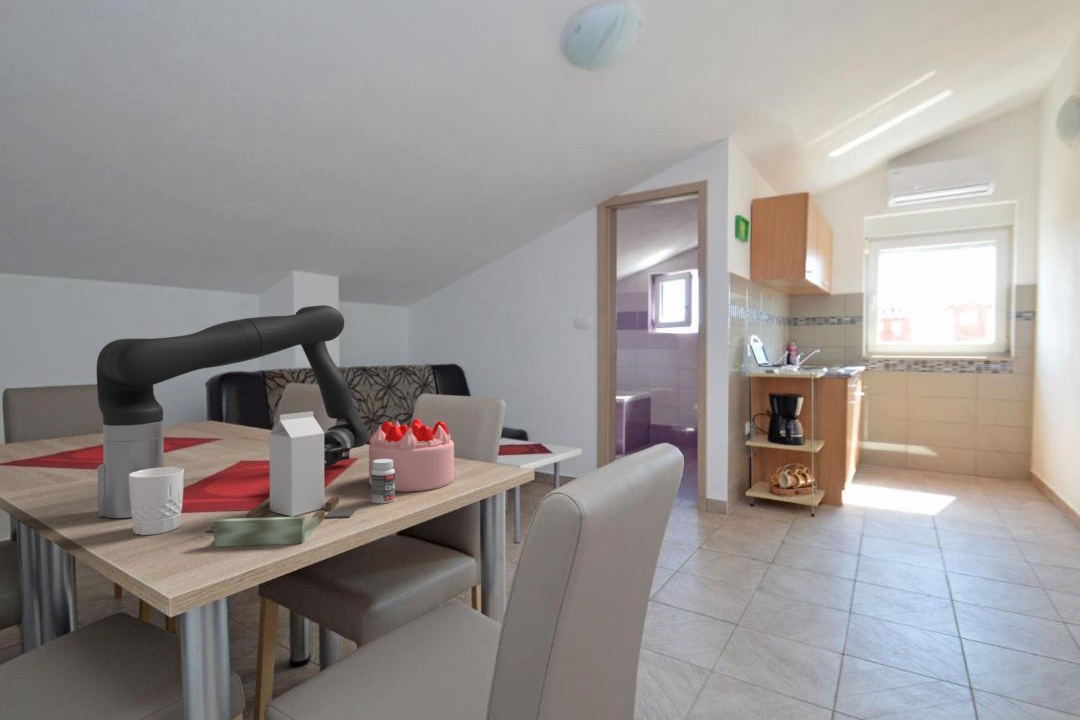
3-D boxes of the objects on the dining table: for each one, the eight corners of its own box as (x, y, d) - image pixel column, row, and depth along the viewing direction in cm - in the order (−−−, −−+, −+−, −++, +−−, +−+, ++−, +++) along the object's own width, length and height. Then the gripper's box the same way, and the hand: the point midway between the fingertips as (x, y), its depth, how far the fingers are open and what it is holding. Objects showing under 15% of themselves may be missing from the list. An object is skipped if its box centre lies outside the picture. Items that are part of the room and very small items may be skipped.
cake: (392, 498, 115) (392, 431, 115) (354, 480, 130) (354, 421, 130) (469, 483, 128) (469, 423, 127) (427, 469, 143) (427, 415, 142)
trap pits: (204, 535, 91) (204, 533, 91) (209, 524, 97) (209, 522, 97) (358, 516, 102) (358, 514, 102) (354, 507, 107) (354, 506, 107)
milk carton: (324, 508, 107) (324, 412, 106) (291, 517, 101) (291, 416, 100) (302, 502, 110) (302, 410, 110) (269, 511, 105) (268, 413, 104)
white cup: (152, 521, 98) (151, 466, 98) (194, 522, 98) (194, 467, 98) (117, 536, 90) (116, 476, 90) (163, 537, 90) (162, 477, 90)
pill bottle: (388, 504, 110) (388, 463, 109) (366, 503, 111) (366, 462, 110) (399, 498, 114) (399, 458, 114) (378, 497, 115) (378, 457, 115)
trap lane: (214, 546, 86) (214, 521, 86) (270, 504, 109) (269, 484, 109) (302, 543, 88) (302, 518, 87) (338, 502, 111) (338, 483, 111)
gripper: (302, 431, 130) (276, 444, 112) (359, 431, 131) (342, 443, 114) (302, 463, 130) (276, 480, 113) (359, 462, 131) (342, 478, 114)
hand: (309, 461), depth 113 cm, fingers closed
